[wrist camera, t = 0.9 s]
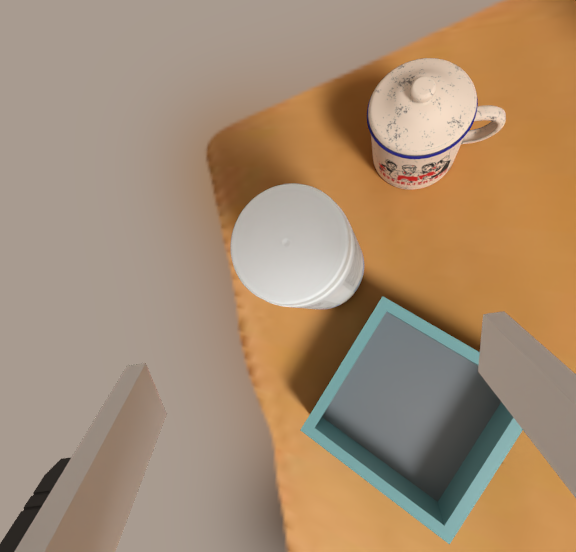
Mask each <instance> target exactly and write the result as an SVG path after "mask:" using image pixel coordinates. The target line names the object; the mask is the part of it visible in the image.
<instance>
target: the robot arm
mask: <svg viewBox="0 0 576 552" xmlns="http://www.w3.org/2000/svg"><path fill="white" fill-rule="evenodd" d="M478 372H479V373H480V375H481V376H482V377H483V379H484V380H485V381H486V382H487V384H488V385H489V386H490V388H491V389H492V390H493V392H494V393H495V394H496V395H497V397H498V398H499V399H500V401H501V402H502V403H503V405H504V406H505V407H506V408H507V410H508V411H509V412H510V414H511V415H512V416H513V417H514V419H515V420H516V421H517V423H518V424H519V425H520V427H521V428H522V429H523V430H524V432H525V433H526V434H527V436H528V437H529V438H530V439H531V441H532V442H533V443H534V445H535V446H536V447H537V449H538V450H539V451H540V452H541V454H542V455H543V456H544V458H545V459H546V460H547V462H548V463H549V464H550V465H551V467H552V468H553V469H554V471H555V472H556V473H557V474H558V476H559V477H560V478H561V480H562V481H563V482H564V484H565V485H566V486H567V487H568V489H569V490H570V491H571V493H572V494H573V495H574V496H575V498H576V374H575V373H573V372H572V371H571V370H570V369H569V368H568V367H567V366H566V365H564V364H563V363H562V362H561V361H560V360H559V359H558V358H556V357H555V356H554V355H553V354H552V353H551V352H550V351H548V350H547V349H546V348H545V347H544V346H543V345H542V344H540V343H539V342H538V341H537V340H536V339H535V338H534V337H532V336H531V335H530V334H529V333H528V332H527V331H526V330H525V329H523V328H522V327H521V326H520V325H519V324H518V323H517V322H515V321H514V320H513V319H512V318H511V317H510V316H509V315H507V314H506V313H505V312H497V313H490V314H483V323H482V334H481V344H480V355H479V365H478ZM166 415H167V413H166V411H165V408H164V406H163V403H162V401H161V399H160V396H159V394H158V391H157V389H156V387H155V384H154V382H153V379H152V377H151V375H150V372H149V370H148V367H147V365H146V363H143V364H136V365H129V366H126V368H125V370H124V371H123V373H122V375H121V376H120V378H119V380H118V381H117V383H116V385H115V386H114V388H113V390H112V391H111V393H110V395H109V396H108V398H107V400H106V401H105V403H104V404H103V406H102V408H101V409H100V411H99V413H98V415H97V416H96V418H95V419H94V421H93V423H92V424H91V426H90V428H89V429H88V431H87V433H86V434H85V436H84V438H83V439H82V441H81V442H80V444H79V446H78V447H77V449H76V451H75V452H74V454H73V456H72V457H71V458H66V459H61V460H60V461H59V462H58V463H57V464H56V465H55V466H54V467H53V468H52V469H51V470H50V471H49V472H48V473H47V474H46V475H45V476H44V477H43V479H42V481H41V482H40V484H39V485H38V487H37V488H36V490H35V491H34V495H33V496H31V497H30V499H29V500H28V502H27V503H26V505H25V507H24V511H22V512H21V513H20V514H19V516H18V517H17V519H16V520H15V522H14V524H13V525H12V527H11V528H10V530H9V531H8V533H7V534H6V536H5V538H4V539H3V540H2V542H1V544H0V552H115V551H116V548H117V546H118V543H119V540H120V538H121V535H122V532H123V530H124V527H125V524H126V522H127V519H128V516H129V514H130V511H131V508H132V506H133V503H134V500H135V498H136V495H137V492H138V490H139V487H140V484H141V482H142V479H143V476H144V474H145V471H146V468H147V466H148V463H149V460H150V458H151V455H152V452H153V450H154V447H155V444H156V442H157V439H158V436H159V434H160V431H161V428H162V426H163V423H164V420H165V418H166Z"/></svg>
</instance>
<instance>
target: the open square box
mask: <svg viewBox="0 0 576 552" xmlns="http://www.w3.org/2000/svg"><path fill="white" fill-rule="evenodd" d="M479 355H480V352H478V351H477V350H475V349H473V348H471V347H470V346H468V345H466V344H464V343H463V342H461V341H459V340H458V339H456V338H454V337H452V336H451V335H449V334H447V333H445V332H444V331H442V330H440V329H439V328H437V327H435V326H433V325H432V324H430V323H428V322H426V321H425V320H423V319H421V318H420V317H418V316H416V315H414V314H413V313H411V312H409V311H407V310H406V309H404V308H402V307H401V306H399V305H397V304H395V303H394V302H392V301H390V300H388V299H387V298H385V297H383V296H382V298H381V300H380V301H379V303H378V304H377V306H376V308H375V309H374V311H373V313H372V314H371V316H370V317H369V319H368V321H367V322H366V324H365V326H364V327H363V329H362V331H361V332H360V334H359V335H358V337H357V339H356V340H355V342H354V344H353V345H352V347H351V348H350V350H349V352H348V353H347V355H346V357H345V358H344V360H343V361H342V363H341V365H340V366H339V368H338V370H337V371H336V373H335V375H334V376H333V378H332V379H331V381H330V383H329V384H328V386H327V388H326V389H325V391H324V392H323V394H322V396H321V397H320V399H319V401H318V402H317V404H316V406H315V407H314V409H313V410H312V412H311V414H310V415H309V417H308V419H307V420H306V422H305V423H304V425H303V427H302V428H301V431H302V432H303V433H305V434H306V435H307V436H309V437H310V438H311V439H313V440H314V441H315V442H317V443H318V444H319V445H320V446H322V447H323V448H324V449H326V450H327V451H328V452H330V453H331V454H332V455H333V456H335V457H336V458H337V459H339V460H340V461H341V462H343V463H344V464H345V465H347V466H348V467H349V468H350V469H352V470H353V471H354V472H356V473H357V474H358V475H360V476H361V477H362V478H364V479H365V480H366V481H367V482H369V483H370V484H371V485H373V486H374V487H375V488H377V489H378V490H379V491H380V492H382V493H383V494H384V495H386V496H387V497H388V498H390V499H391V500H392V501H394V502H395V503H396V504H397V505H399V506H400V507H401V508H403V509H404V510H405V511H407V512H408V513H409V514H411V515H412V516H413V517H414V518H416V519H417V520H418V521H420V522H421V523H422V524H424V525H425V526H426V527H428V528H429V529H430V530H431V531H433V532H434V533H435V534H437V535H438V536H439V537H441V538H442V539H443V540H444V541H446V542H447V543H448V544H450V543H451V541H452V540H453V538H454V537H455V535H456V533H457V532H458V530H459V529H460V527H461V526H462V524H463V522H464V521H465V519H466V518H467V516H468V515H469V513H470V512H471V510H472V508H473V507H474V505H475V504H476V502H477V501H478V499H479V498H480V496H481V494H482V493H483V491H484V490H485V488H486V487H487V485H488V483H489V482H490V480H491V479H492V477H493V476H494V474H495V473H496V471H497V469H498V468H499V466H500V465H501V463H502V462H503V460H504V458H505V457H506V455H507V454H508V452H509V451H510V449H511V448H512V446H513V444H514V443H515V441H516V440H517V438H518V437H519V435H520V433H521V432H522V430H523V429H522V428H521V427H520V425H519V424H518V423H517V421H516V420H515V419H514V417H513V416H512V415H511V414H510V412H509V411H508V410H507V408H506V407H505V406H504V405H503V403H502V402H501V401H500V399H499V398H498V397H497V395H496V394H495V393H494V392H493V390H492V389H491V388H490V386H489V385H488V384H487V382H486V381H485V380H484V379H483V377H482V376H481V375H480V373H479V372H478V365H479Z"/></svg>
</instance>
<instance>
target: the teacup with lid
mask: <svg viewBox="0 0 576 552" xmlns="http://www.w3.org/2000/svg"><path fill="white" fill-rule="evenodd" d="M477 105H478V102H477V94H476V90H475V87H474V84H473V82H472V80H471V79H470V77H469V76H468V75H467V74H466V73H465V71H464V70H462V69H461V68H460V67H458V66H457V65H455V64H453V63H451V62H449V61H446V60H442V59H436V58H423V59H417V60H413V61H410V62H407V63H405V64H402V65H400V66H399V67H397V68H395V69H394V70H392V71H391V72H390V73H388V74H387V75H386V76H385V77H384V78H383V79H382V80H381V81H380V83H379V84H378V85H377V87H376V88H375V90H374V92H373V94H372V96H371V98H370V101H369V104H368V109H367V123H368V128H369V131H370V133H371V141H372V153H373V162H374V165H375V168H376V170H377V172H378V174H379V175H380V176H381V177H382V178H383V179H384V180H385V181H386V182H387V183H389V184H391V185H393V186H395V187H398V188H402V189H420V188H424V187H427V186H429V185H432V184H434V183H435V182H437V181H438V180H440V179H441V178H442V177H443V176H444V175H445V174H446V173H447V172H448V171H449V169H450V168H451V166H452V164H453V162H454V159H455V157H456V155H457V152H458V150H459V147H460V145H461V144H468V143H474V142H478V141H482V140H485V139H487V138H489V137H491V136H493V135H494V134H496V133H497V132H498V131H499V130H500V129H501V128H502V127H503V126H504V124H505V120H506V115H505V111H504V110H503V109H501V108H500V107H497V106H477ZM482 120H489V121H492V122H490V123H489V124H487V125H486V126H484V127H481V128H478V129H475V130H470V128H471V126H472V124H473V122H474V121H482Z"/></svg>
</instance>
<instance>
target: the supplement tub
mask: <svg viewBox="0 0 576 552" xmlns="http://www.w3.org/2000/svg"><path fill="white" fill-rule="evenodd" d="M231 257H232V262H233V265H234V268H235V271H236V273H237V275H238V277H239V279H240V280H241V282H242V283H243V284H244V285H245V287H246V288H247V289H248V290H250V291H251V292H252V293H253V294H255V295H256V296H258V297H259V298H261V299H263V300H265V301H267V302H270V303H272V304H275V305H279V306H284V307H295V308H308V309H330V308H334V307H336V306H339V305H341V304H343V303H344V302H346V301H347V300H348V299H350V298H351V297H352V296H353V294H354V293H355V292H356V290H357V289H358V287H359V285H360V283H361V281H362V277H363V274H364V258H363V254H362V251H361V248H360V246H359V243H358V241H357V239H356V237H355V234H354V232H353V230H352V227H351V225H350V223H349V221H348V219H347V217H346V216H345V214H344V212H343V211H342V210H341V208H340V207H339V206H338V205H337V204H336V203H335V202H334V201H333V200H332V199H331V198H330V197H329V196H328V195H326V194H325V193H324V192H322V191H320V190H318V189H316V188H314V187H311V186H308V185H304V184H296V183H291V184H282V185H278V186H274V187H272V188H269V189H267V190H265V191H263V192H262V193H260V194H258V195H257V196H256V197H254V198H253V199H252V200H251V201H250V202H249V203H248V204H247V205H246V206H245V208H244V209H243V210H242V212H241V213H240V215H239V217H238V219H237V221H236V223H235V226H234V229H233V233H232V237H231Z"/></svg>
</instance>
